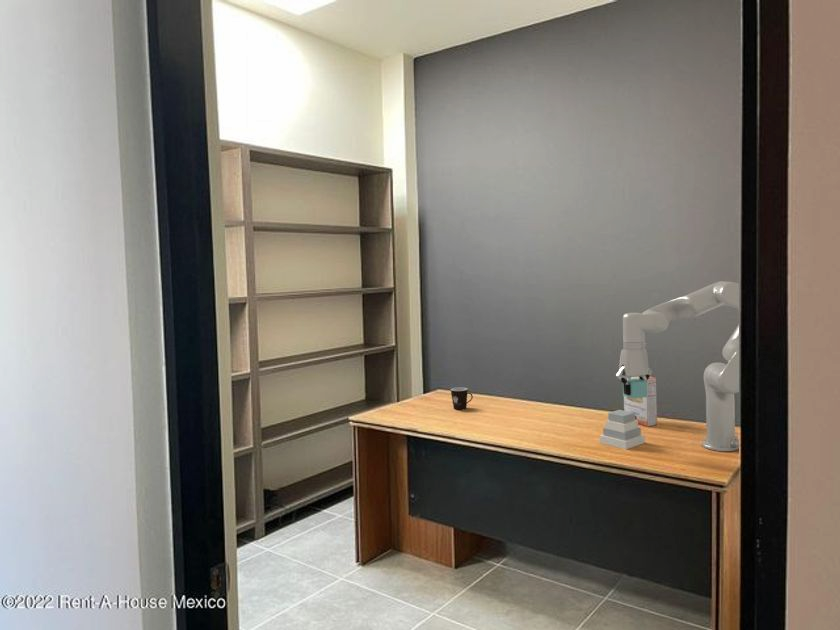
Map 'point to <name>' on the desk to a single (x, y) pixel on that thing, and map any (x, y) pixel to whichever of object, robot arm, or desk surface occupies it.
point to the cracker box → (644, 405)
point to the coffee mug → (460, 398)
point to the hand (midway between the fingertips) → (634, 393)
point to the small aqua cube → (637, 388)
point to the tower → (622, 430)
